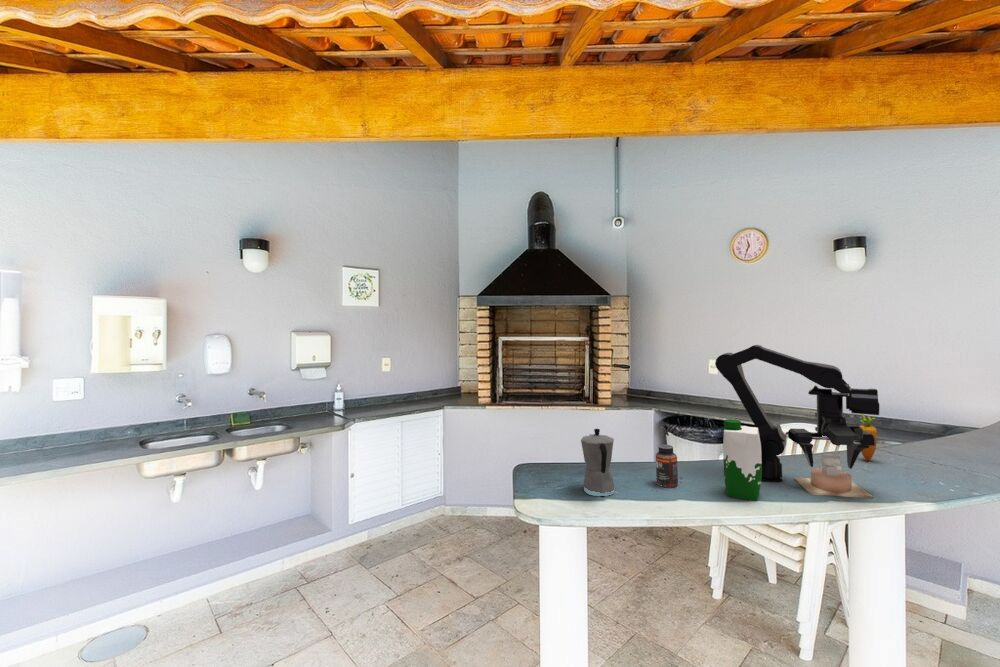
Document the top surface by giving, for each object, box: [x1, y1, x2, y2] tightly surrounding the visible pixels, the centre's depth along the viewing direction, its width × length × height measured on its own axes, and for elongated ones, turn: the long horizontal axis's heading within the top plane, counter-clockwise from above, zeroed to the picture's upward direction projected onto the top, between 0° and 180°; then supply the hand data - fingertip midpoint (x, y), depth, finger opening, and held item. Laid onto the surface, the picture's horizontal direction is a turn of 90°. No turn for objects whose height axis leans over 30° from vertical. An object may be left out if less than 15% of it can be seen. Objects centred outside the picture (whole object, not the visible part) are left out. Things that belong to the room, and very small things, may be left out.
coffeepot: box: [580, 428, 616, 493], centre depth 122 cm, size 15×9×18 cm, turn 0°
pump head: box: [820, 453, 843, 470], centre depth 118 cm, size 4×7×5 cm, turn 165°
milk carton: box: [722, 418, 762, 502], centre depth 117 cm, size 9×9×20 cm
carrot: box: [859, 414, 878, 462], centre depth 139 cm, size 5×5×15 cm
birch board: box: [793, 476, 873, 499], centre depth 119 cm, size 14×11×1 cm
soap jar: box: [810, 463, 853, 493], centre depth 119 cm, size 9×9×6 cm
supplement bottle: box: [655, 444, 679, 488], centre depth 126 cm, size 6×6×11 cm
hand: (830, 467), depth 119 cm, fingers open, 9 cm apart
